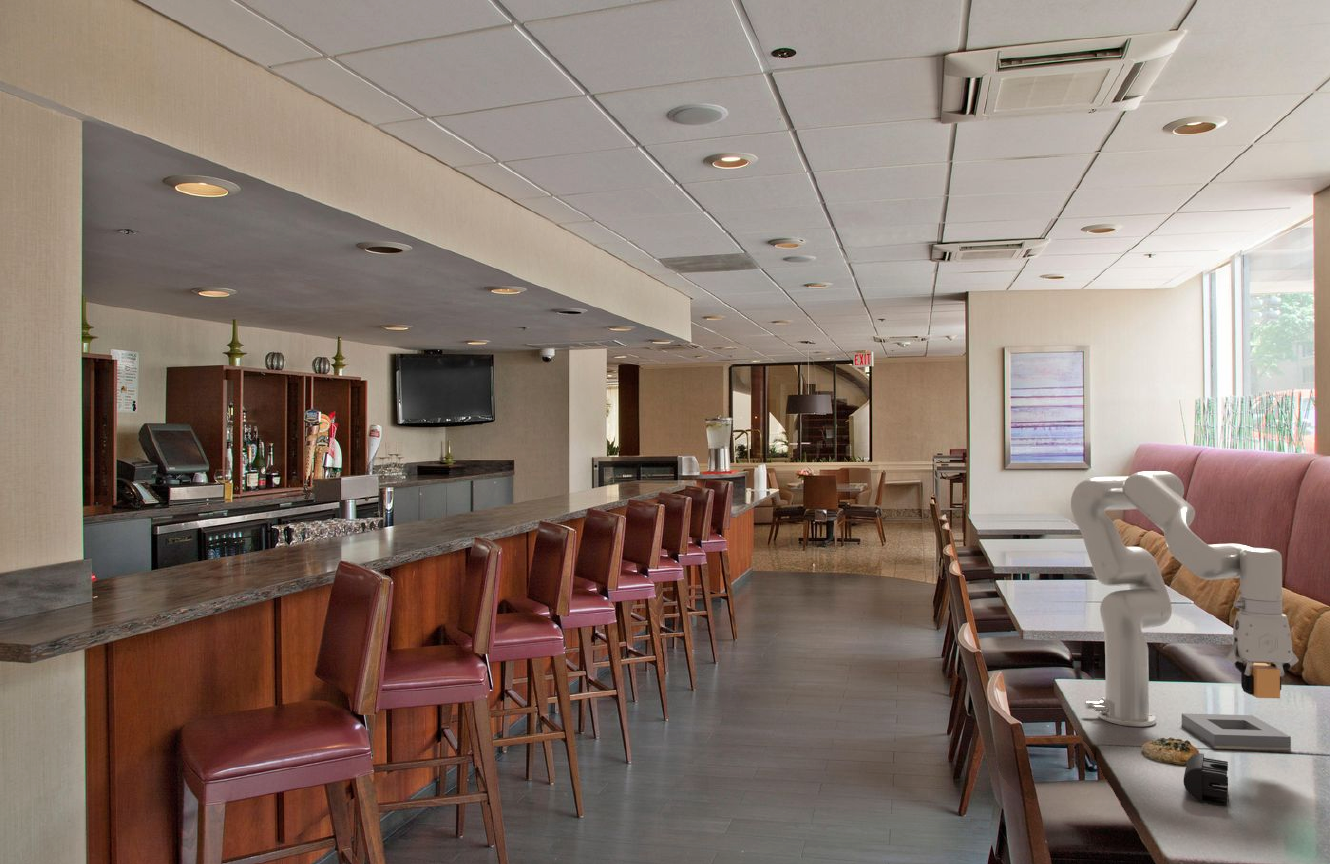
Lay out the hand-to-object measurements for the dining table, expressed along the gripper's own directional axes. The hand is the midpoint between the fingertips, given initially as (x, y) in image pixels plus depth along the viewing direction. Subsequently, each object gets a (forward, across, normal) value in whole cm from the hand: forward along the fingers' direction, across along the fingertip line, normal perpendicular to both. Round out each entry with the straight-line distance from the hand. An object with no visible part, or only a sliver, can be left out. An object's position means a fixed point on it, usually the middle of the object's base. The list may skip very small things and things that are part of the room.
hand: (1261, 692), depth 194 cm
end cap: (+15, -20, -19) cm, 32 cm away
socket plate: (+15, +3, +18) cm, 24 cm away
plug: (0, 0, 0) cm, 0 cm away
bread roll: (+16, -17, +3) cm, 23 cm away
